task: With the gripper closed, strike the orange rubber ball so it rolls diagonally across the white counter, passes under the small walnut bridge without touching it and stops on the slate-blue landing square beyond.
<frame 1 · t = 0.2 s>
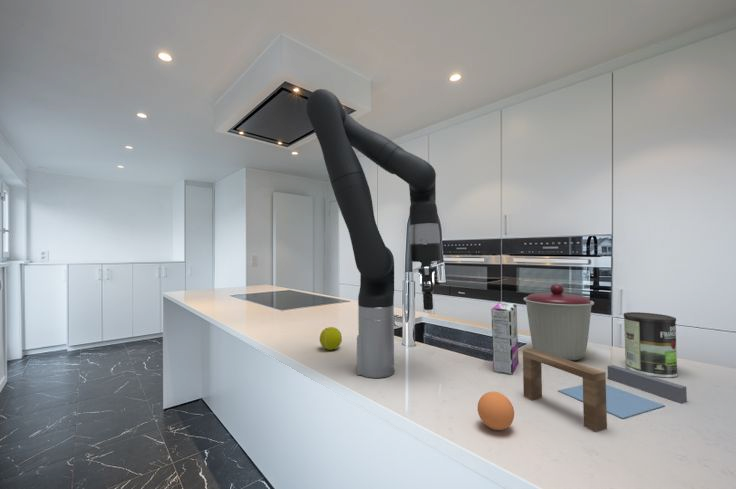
hand: (428, 306, 82), 17 cm above the counter, tool pointing down, fingers open, 8 cm apart
bridge: (561, 410, 63), on the counter
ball: (495, 410, 57), on the counter
tennis ball: (330, 349, 104), on the counter
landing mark: (608, 398, 68), on the counter
stopper: (644, 389, 72), on the counter
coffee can: (650, 371, 84), on the counter
canister: (558, 356, 96), on the counter
candy bar box: (505, 367, 87), on the counter
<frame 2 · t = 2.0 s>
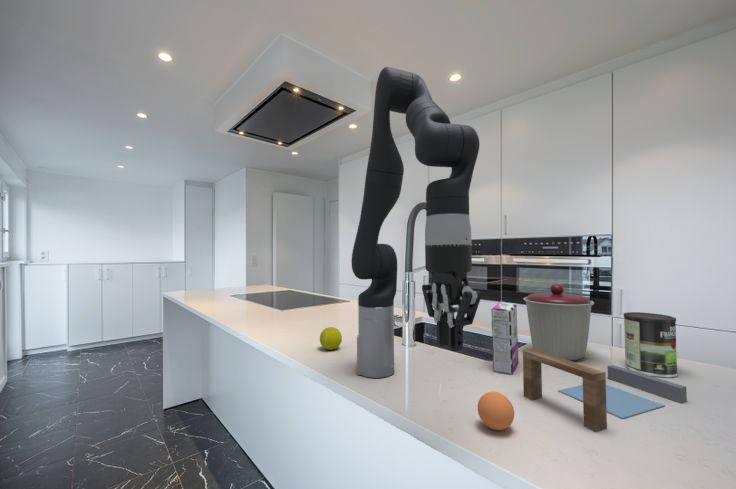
hand: (449, 347, 54), 15 cm above the counter, tool pointing down, fingers closed
nothing on the counter moved.
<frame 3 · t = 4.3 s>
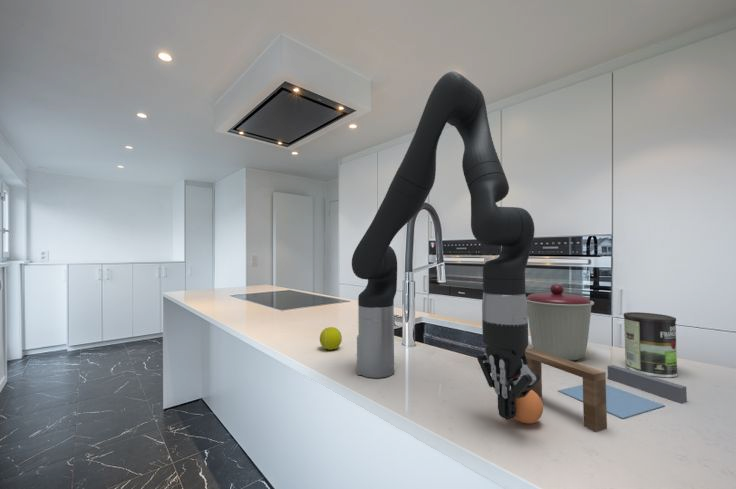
hand: (506, 417, 57), 2 cm above the counter, tool pointing down, fingers closed
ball: (524, 404, 59), on the counter
everything else where it was.
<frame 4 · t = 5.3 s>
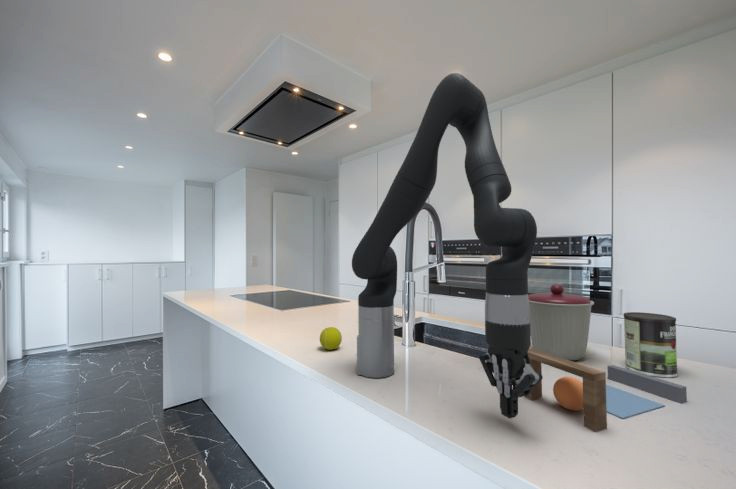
hand: (508, 415, 58), 1 cm above the counter, tool pointing down, fingers closed
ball: (570, 393, 64), on the counter
everything else where it was.
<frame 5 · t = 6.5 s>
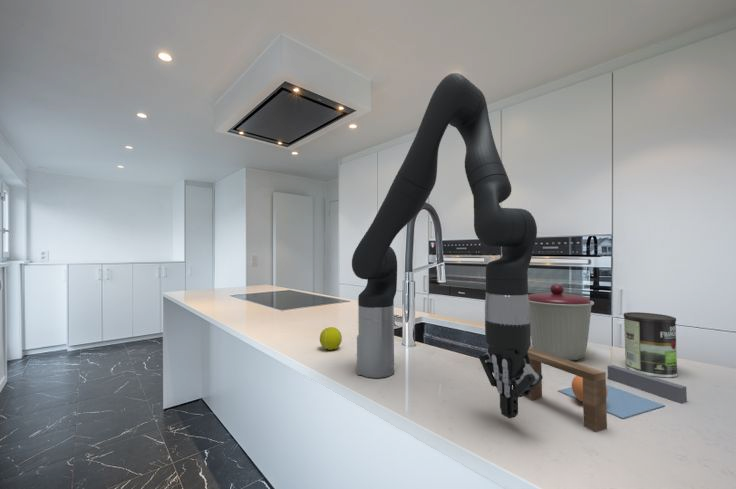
hand: (508, 415, 58), 1 cm above the counter, tool pointing down, fingers closed
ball: (589, 388, 66), on the counter
everything else where it was.
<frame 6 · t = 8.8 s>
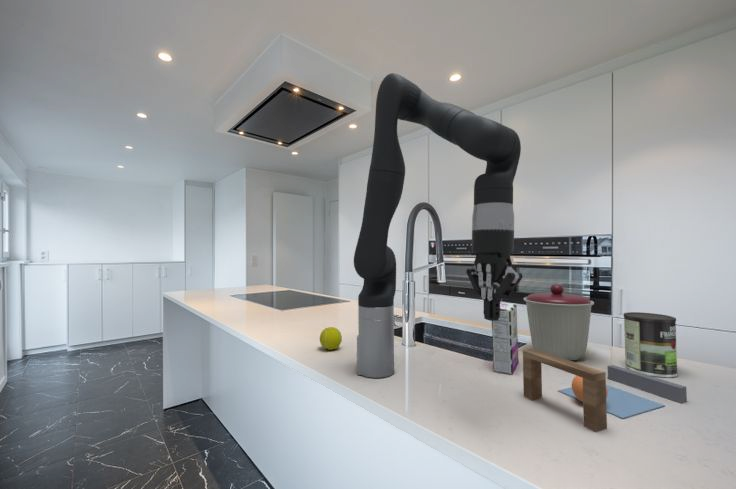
hand: (491, 319, 62), 18 cm above the counter, tool pointing down, fingers closed
nothing on the counter moved.
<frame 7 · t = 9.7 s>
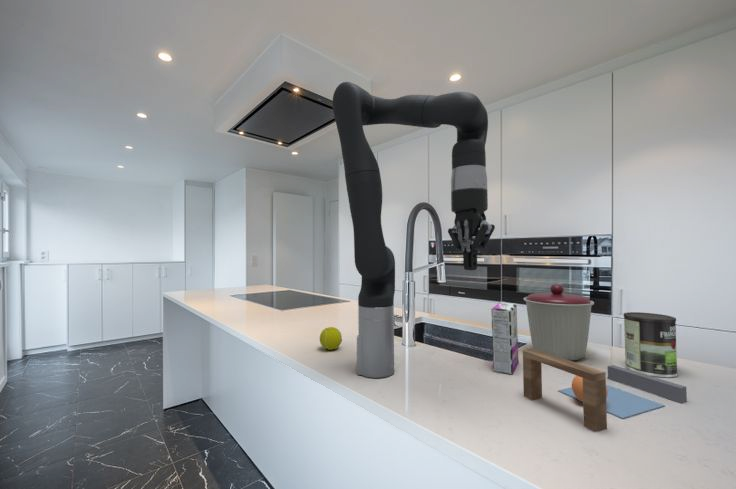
hand: (470, 269, 70), 27 cm above the counter, tool pointing down, fingers closed
nothing on the counter moved.
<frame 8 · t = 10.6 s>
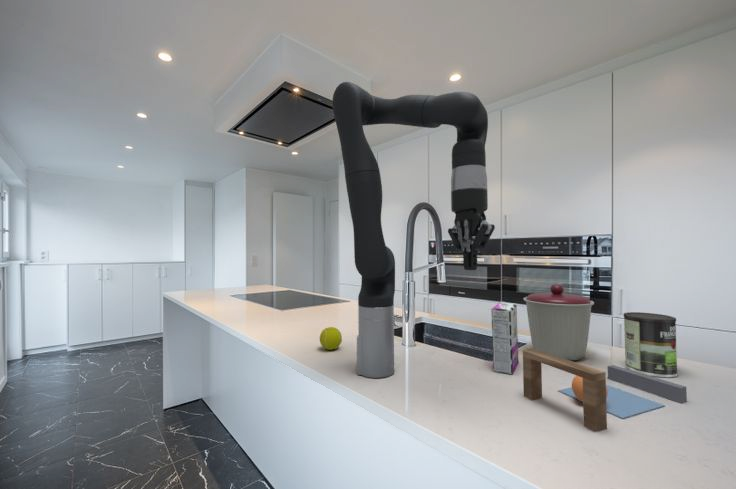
hand: (470, 269, 70), 27 cm above the counter, tool pointing down, fingers closed
nothing on the counter moved.
at the end: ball 6.0 cm from the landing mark (horizontally); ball never touched bridge; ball at rest at the end (0.0 cm/s) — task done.
